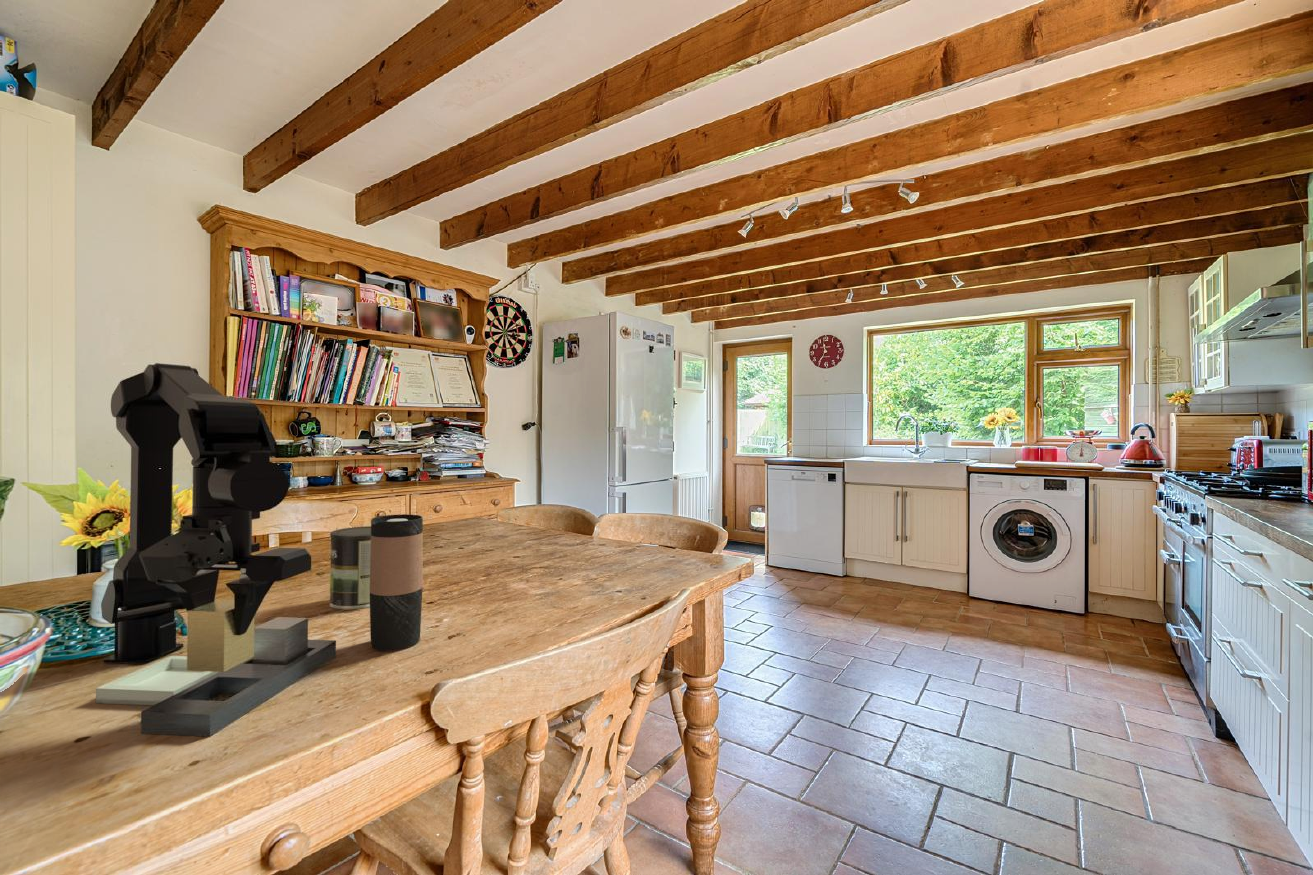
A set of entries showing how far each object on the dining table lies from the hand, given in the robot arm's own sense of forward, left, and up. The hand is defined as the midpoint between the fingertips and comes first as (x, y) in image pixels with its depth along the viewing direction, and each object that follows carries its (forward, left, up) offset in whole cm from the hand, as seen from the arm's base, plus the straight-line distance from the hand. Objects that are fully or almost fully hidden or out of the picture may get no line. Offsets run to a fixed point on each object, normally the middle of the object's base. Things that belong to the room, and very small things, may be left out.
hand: (221, 633), depth 67 cm
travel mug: (+10, +22, -9) cm, 26 cm away
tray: (-11, +5, -9) cm, 15 cm away
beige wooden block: (0, 0, -4) cm, 4 cm away
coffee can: (-8, +42, -9) cm, 44 cm away
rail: (0, +5, -9) cm, 10 cm away
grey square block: (0, +10, -9) cm, 14 cm away
